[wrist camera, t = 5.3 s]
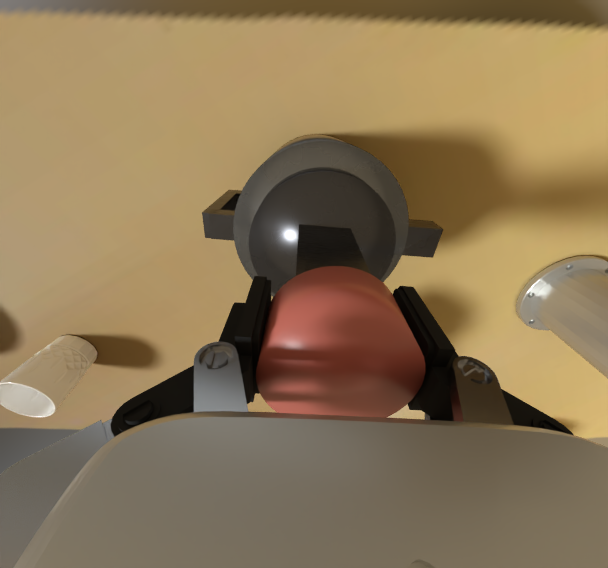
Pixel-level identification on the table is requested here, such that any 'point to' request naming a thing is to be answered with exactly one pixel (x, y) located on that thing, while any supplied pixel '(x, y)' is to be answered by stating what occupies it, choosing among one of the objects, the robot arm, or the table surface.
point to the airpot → (319, 214)
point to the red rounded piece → (338, 347)
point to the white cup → (47, 377)
